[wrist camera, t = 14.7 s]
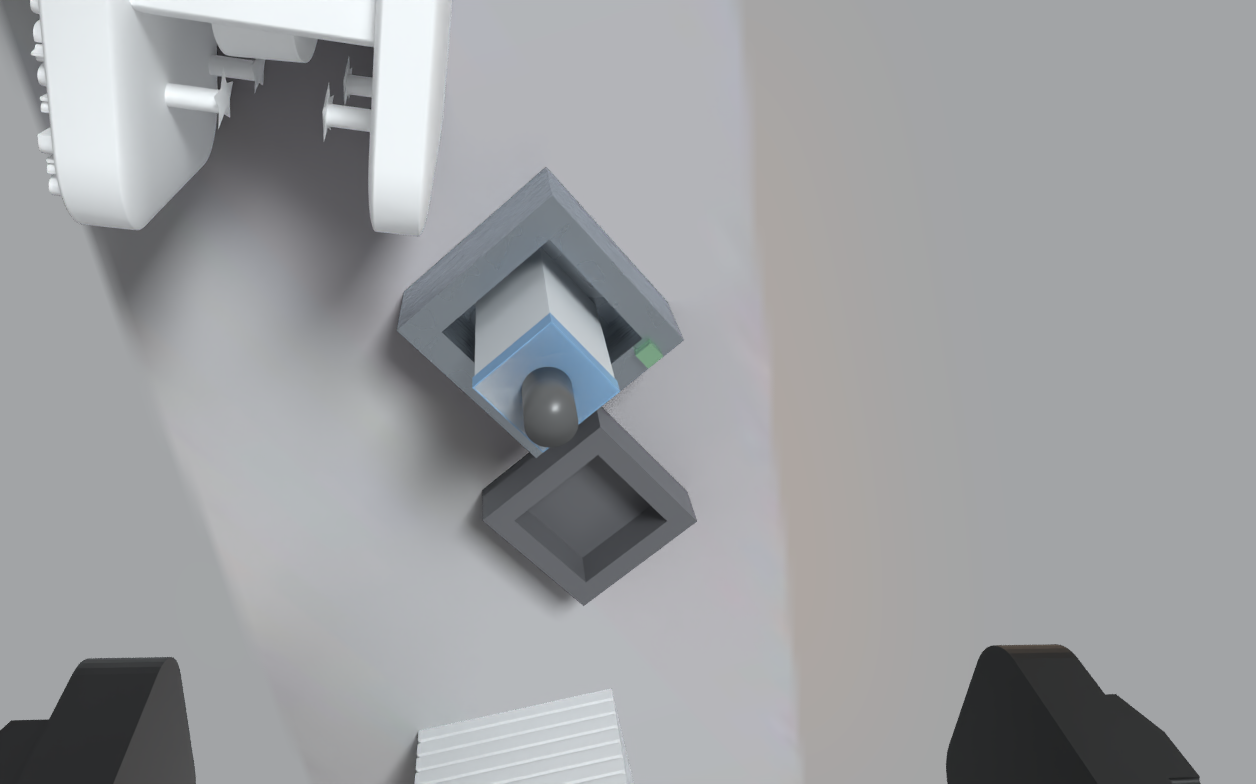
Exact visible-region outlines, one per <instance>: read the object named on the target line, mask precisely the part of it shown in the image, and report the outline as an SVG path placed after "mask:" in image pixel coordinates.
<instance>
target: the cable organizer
mask: <svg viewBox="0 0 1256 784" xmlns="http://www.w3.org/2000/svg"><path fill="white" fill-rule="evenodd" d="M30 6H31V9H32V11H33V12H34V13H37V14H39V16H40V19H39V20H38V21H37V22H36V23H35V25H34V28H33V36H34V40H35V42H41V43H42V45H41V44H36V45H35V49H34V50H33V51H32V52H31V55H33V56H36V61H41V62H43V63H42V64H41V65H40V67H39V69H38V75H37V76H38V82H39V84H40V85H42V86H46V88H47V94H45V95H43V96H41V97H40V101H43V102H42V104H41V112H45V113H49V119H50V127H49V128H48V129H46V130H44V131H43V132H41V133H39V134H38V135H37V136H38V145H39V149H40V151H41V152H42V153H49V154H53V155H52V156H50V157H48V158H47V159H46V162H47V163H48V166H47V173H48V174H53V175H52V176H51V178H50V181H49V191H50V193H51V194H52V195H58V196H62V199H63V201H64V204H65V206H66V209H67V210H68V212H69V214H70V215H71V217H72V218H73V219H74V220H75V221H76V222H78V223H80V224H83V225H92V226H102V227H111V228H120V229H129V230H141V229H142V228H144V227H145V226H146V225H147V224H148V223H149V221H150V220H151V219H152V218H153V217H154V216H155V215H156V214H157V213H158V212H159V211H160V210H161V209H162V208H163V207H164V206H165V205H166V204H167V203H168V202H169V201H170V200H171V199H172V198H173V197H174V196H175V195H176V193H177V192H178V191H179V190H180V189H181V188H182V187H183V186H184V185H185V184H186V183H187V182H188V181H189V180H190V179H191V178H192V177H193V176H194V175H195V174H196V173H197V172H198V171H199V170H200V169H201V168H202V167H203V165H204V164H205V163H206V162H207V160H208V158H209V156H210V153H211V150H212V146H213V142H214V137H215V131H216V122H217V113H219V125H218V129H219V126H220V124H221V121H222V119H223V116H224V114H225V115H226V116H228V117H229V118H230V96H231V90H232V85H233V81H232V82H229V83H227V82H226V77H228V78H236V79H243V80H250V81H255V91H254V95H255V92H256V89H257V86H258V84H259V83H260V84H261V85H262V86H263V81H264V65H265V59H267V60H278V61H288V62H299V63H307V62H309V61H310V60H311V58H312V56H313V54H314V51H315V48H316V45H317V40H318V39H321V40H328V41H335V42H341V43H348V44H355V45H361V46H369V47H374V60H373V78H372V77H365V76H358V75H351V74H352V68H353V67H352V68H351V69H350V63H349V57H348V62H347V66H346V71H345V75H344V80H343V88H344V106H343V105H336V104H332V103H333V97H334V95H333V96H331V97H330V88H329V84H328V88H327V93H326V97H325V102H324V107H323V111H322V113H323V135H324V140H325V136H326V132H327V128H329V130H330V131H331V127H336V128H343V129H351V130H358V131H366V132H370V145H369V168H368V196H369V211H370V219H371V224H372V227H373V229H374V231H375V232H383V233H391V234H400V235H409V236H417V237H418V236H420V235H421V234H422V232H423V229H424V226H425V223H426V219H427V215H428V210H429V205H430V199H431V193H432V187H433V181H434V174H435V168H436V162H437V156H438V150H439V144H440V138H441V131H442V122H443V112H444V100H445V88H446V75H447V63H448V50H449V38H450V25H451V13H452V0H30ZM217 44H218V46H219V48H220V50H221V51H222V52H223V53H224V54H225V55H227V56H235V57H245V58H256V61H253V60H246V59H239V58H232V57H226V56H219V55H217ZM217 76H221V77H222V82H221V89H220V90H218V84H217ZM350 95H357V96H364V97H371V98H372V102H371V109H365V108H358V107H350V106H345V104H346V100H347V96H348V97H349V98H350Z"/></svg>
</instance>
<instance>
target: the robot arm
mask: <svg viewBox="0 0 1256 784" xmlns="http://www.w3.org/2000/svg"><path fill="white" fill-rule="evenodd" d="M946 772H947V782H948V784H1200V781H1199V775H1198V774H1197V773H1196V771H1195V770H1194V769H1193V768H1192V766H1191V765H1190V764H1189V763H1188V762H1187V760H1186V759H1185V758H1184V756H1183V755H1182V754H1181V753H1180V751H1179V750H1178V749H1177V747H1176V746H1175V745H1174V744H1173V742H1172V741H1171V740H1170V739H1169V737H1168V736H1167V735H1166V734H1165V732H1163V731H1162V730H1161V729H1160V728H1158V727H1157V726H1156V725H1154V724H1153V723H1152V722H1151V721H1149V720H1148V719H1147V718H1146V717H1144V716H1143V715H1142V714H1141V713H1139V712H1138V711H1137V710H1135V709H1134V708H1133V707H1132V706H1130V705H1129V704H1128V703H1126V702H1125V701H1124V700H1123V699H1121V698H1120V697H1119V696H1117V695H1116V694H1109V695H1105V694H1104V693H1103V692H1102V690H1101V689H1100V687H1099V686H1098V685H1097V683H1096V682H1095V681H1094V679H1093V678H1092V677H1091V675H1090V674H1089V673H1088V671H1087V670H1086V669H1085V668H1084V666H1083V665H1082V664H1081V662H1080V661H1079V660H1078V658H1077V657H1076V656H1075V655H1074V654H1073V653H1072V652H1071V651H1070V650H1069V649H1068V648H1066V647H1064V646H1061V645H1056V644H1054V645H1003V646H1002V645H997V646H990V647H988V648H986V649H985V650H984V651H983V652H982V654H981V655H980V657H979V659H978V662H977V665H976V668H975V671H974V674H973V677H972V680H971V682H970V685H969V688H968V691H967V694H966V697H965V700H964V703H963V706H962V709H961V712H960V715H959V718H958V721H957V724H956V727H955V729H954V733H953V736H952V738H951V741H950V744H949V748H948V752H947V761H946ZM0 784H196V777H195V767H194V760H193V754H192V748H191V741H190V733H189V727H188V720H187V713H186V707H185V700H184V693H183V687H182V680H181V674H180V669H179V666H178V663H177V661H176V660H175V659H174V658H172V657H160V658H159V657H155V658H98V659H97V658H95V659H86V660H84V661H82V662H81V663H80V664H79V665H78V667H77V668H76V669H75V671H74V673H73V674H72V676H71V678H70V680H69V682H68V684H67V686H66V688H65V690H64V692H63V694H62V696H61V697H60V699H59V702H58V703H57V705H56V707H55V709H54V711H53V713H52V715H51V717H50V719H49V720H15V721H10V722H9V723H8V724H7V725H6V726H5V727H4V728H3V729H2V730H0Z"/></svg>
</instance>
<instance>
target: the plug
mask: <svg viewBox="0 0 1256 784" xmlns="http://www.w3.org/2000/svg"><path fill="white" fill-rule="evenodd" d="M472 388H473V389H474V390H475V391H476V392H478V393H479V394H480V395H481V396H482V397H483V398H484V399H485V400H486V401H487V402H488V403H489V404H491V405H492V406H493V407H494V408H495V409H496V410H497V411H498V412H499V413H500V414H501V415H502V416H504V417H505V418H506V419H507V420H508V421H509V422H510V423H511V424H512V425H513V426H514V427H515V428H517V429H518V430H519V431H520V432H521V433H522V434H523V435H524V436H525V437H526V438H527V439H528V440H530V441H531V442H532V443H533V444H534V445H535V446H536V447H537V448H538V449H539V450H540V451H541V452H545V451H546V450H547V449H548V448H553V447H558V446H561V445H564V444H566V443H567V442H569V441H570V440H571V439H572V438H573V437H574V435H575V434H576V432H577V429H578V425H579V424H580V423H581V422H582V421H584V420H585V419H586V418H587V417H589V416H590V415H591V414H592V413H594V412H595V411H596V410H597V409H599V408H600V407H601V406H602V405H604V404H605V403H606V402H607V401H609V400H610V399H611V398H612V397H614V396H615V395H616V394H617V393H619V392H620V389H619V385H618V382H617V380H616V379H615V377H614V373H613V370H612V366H611V362H610V358H609V354H608V350H607V347H606V343H605V339H604V335H603V331H602V327H601V324H600V320H599V316H598V312H597V308H596V305H595V304H594V303H593V302H592V301H591V300H590V299H589V298H588V297H587V295H586V294H585V293H584V292H583V291H582V290H581V289H580V288H579V287H578V286H577V285H576V284H575V283H574V282H573V281H572V280H571V279H570V278H569V276H568V275H567V274H566V273H565V272H564V271H563V270H562V269H561V268H560V267H559V266H558V265H557V264H556V263H555V262H554V261H553V260H552V258H551V257H550V256H549V255H548V254H547V253H546V252H545V251H544V250H543V249H542V248H541V247H540V248H539V249H538V250H537V251H535V252H534V253H533V254H532V255H531V256H530V257H528V258H527V259H526V260H525V261H524V262H523V263H521V264H520V265H519V266H518V267H517V268H516V269H514V270H513V271H512V272H511V273H510V274H509V275H507V276H506V277H505V278H504V279H503V280H502V281H500V282H499V283H498V284H497V285H496V286H495V287H493V288H492V289H491V290H490V291H489V292H488V293H486V294H485V295H484V296H483V297H482V298H481V299H479V300H478V301H477V302H476V324H475V376H474V377H473V378H472Z"/></svg>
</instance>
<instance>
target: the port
mask: <svg viewBox="0 0 1256 784" xmlns="http://www.w3.org/2000/svg"><path fill="white" fill-rule="evenodd" d="M540 247H541V248H542V249H543V250H544V251H545V252H546V253H547V254H548V255H549V256H550V257H551V258H552V260H553V261H554V262H555V263H556V264H557V265H558V266H559V267H560V268H561V269H562V270H563V271H564V272H565V273H566V274H567V275H568V276H569V278H570V279H571V280H572V281H573V282H574V283H575V284H576V285H577V286H578V287H579V288H580V289H581V290H582V291H583V292H584V293H585V294H586V295H587V297H588V298H589V299H590V300H591V301H592V302H593V303H594V304H595V305H596V308H597V312H598V316H599V320H600V324H601V327H602V331H603V335H604V339H605V343H606V347H607V350H608V354H609V358H610V362H611V366H612V370H613V373H614V377H615V379H616V380H617V382H618V385H619V389H620V391H621V390H622V389H623V388H625V387H626V386H627V385H628V384H630V383H631V382H632V381H633V380H635V379H636V378H637V377H638V376H640V375H641V374H642V373H643V372H645V371H646V370H647V369H648V368H650V367H651V366H652V365H653V364H655V363H656V362H657V361H658V360H660V359H661V358H662V357H663V356H665V355H666V354H667V353H668V352H670V351H671V350H672V349H673V348H675V347H676V346H677V345H678V344H680V343H681V342H682V341H683V340H684V339H683V337H682V334H681V332H680V330H679V328H678V325H677V323H676V321H675V318H674V316H673V314H672V311H671V309H670V307H669V304H668V302H667V301H666V300H665V299H664V298H663V297H662V295H661V294H660V293H659V292H658V291H657V290H656V289H655V288H654V287H653V285H652V284H651V283H650V282H649V281H648V280H647V279H646V278H645V276H644V275H643V274H642V273H641V272H640V271H639V270H638V269H637V268H636V266H635V265H634V264H633V263H632V262H631V261H630V260H629V259H628V258H627V256H626V255H625V254H624V253H623V252H622V251H621V250H620V249H619V248H618V246H617V245H616V244H615V243H614V242H613V241H612V240H611V239H610V238H609V236H608V235H607V234H606V233H605V232H604V231H603V230H602V229H601V227H600V226H599V225H598V224H597V223H596V222H595V221H594V220H593V219H592V217H591V216H590V215H589V214H588V213H587V212H586V211H585V210H584V209H583V207H582V206H581V205H580V204H579V203H578V202H577V201H576V200H575V199H574V197H573V196H572V195H571V194H570V193H569V192H568V191H567V190H566V189H565V187H564V186H563V185H562V184H561V183H560V182H559V181H558V180H557V178H556V177H555V176H554V175H553V174H552V173H551V172H550V171H549V170H548V168H547V167H545V168H544V169H543V170H542V171H541V172H540V173H539V174H537V175H536V176H535V177H534V178H533V179H532V180H531V181H529V182H528V183H527V184H526V185H525V186H524V187H523V188H521V189H520V190H519V191H518V192H517V193H516V194H515V195H514V196H512V197H511V198H510V199H509V200H508V201H507V202H506V203H504V204H503V205H502V206H501V207H500V208H499V209H498V210H496V211H495V212H494V213H493V214H492V215H491V216H490V217H489V218H487V219H486V220H485V221H484V222H483V223H482V224H481V225H479V226H478V227H477V228H476V229H475V230H474V231H473V232H471V233H470V234H469V235H468V236H467V237H466V238H465V239H464V240H462V241H461V242H460V243H459V244H458V245H457V246H456V247H454V248H453V249H452V250H451V251H450V252H449V253H448V254H446V255H445V256H444V257H443V258H442V259H441V260H440V261H439V262H437V263H436V264H435V265H434V266H433V267H432V268H431V269H429V270H428V271H427V272H426V273H425V274H424V275H423V276H421V277H420V278H419V279H418V280H417V281H416V282H415V283H414V284H412V285H411V286H410V287H409V288H408V289H407V290H406V291H404V295H403V300H402V305H401V311H400V316H399V321H398V326H397V331H398V332H399V333H400V334H401V335H402V336H403V337H404V338H405V339H406V340H408V341H409V342H410V343H411V344H412V345H413V346H414V347H415V348H416V349H417V350H418V351H420V352H421V353H422V354H423V355H424V356H425V357H426V358H427V359H428V360H429V361H431V362H432V363H433V364H434V365H435V366H436V367H437V368H438V369H439V370H440V371H441V372H443V373H444V374H445V375H446V376H447V377H448V378H449V379H450V380H451V381H452V382H453V383H455V384H456V385H457V386H458V387H459V388H460V389H461V390H462V391H463V392H464V393H466V394H467V395H468V396H469V397H470V398H471V399H472V400H473V401H474V402H475V403H476V404H478V405H479V406H480V407H481V408H482V409H483V410H484V411H485V412H486V413H487V414H488V415H490V416H491V417H492V418H493V419H494V420H495V421H496V422H497V423H498V424H499V425H501V426H502V427H503V428H504V429H505V430H506V431H507V432H508V433H509V434H510V435H511V436H513V437H514V438H515V439H516V440H517V441H518V442H519V443H520V444H521V445H522V446H523V447H525V448H526V449H527V450H528V451H529V452H530V453H531V454H532V455H533V456H534V457H536V458H537V457H538V456H539V455H541V454H542V453H543V452H541V451H540V450H539V449H538V448H537V447H536V446H535V445H534V444H533V443H532V442H531V441H530V440H528V439H527V438H526V437H525V436H524V435H523V434H522V433H521V432H520V431H519V430H518V429H517V428H515V427H514V426H513V425H512V424H511V423H510V422H509V421H508V420H507V419H506V418H505V417H504V416H502V415H501V414H500V413H499V412H498V411H497V410H496V409H495V408H494V407H493V406H492V405H491V404H489V403H488V402H487V401H486V400H485V399H484V398H483V397H482V396H481V395H480V394H479V393H478V392H476V391H475V390H474V389H473V388H472V378H473V377H474V376H475V324H476V302H477V301H478V300H479V299H481V298H482V297H483V296H484V295H485V294H486V293H488V292H489V291H490V290H491V289H492V288H493V287H495V286H496V285H497V284H498V283H499V282H500V281H502V280H503V279H504V278H505V277H506V276H507V275H509V274H510V273H511V272H512V271H513V270H514V269H516V268H517V267H518V266H519V265H520V264H521V263H523V262H524V261H525V260H526V259H527V258H528V257H530V256H531V255H532V254H533V253H534V252H535V251H537V250H538V249H539V248H540Z"/></svg>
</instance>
